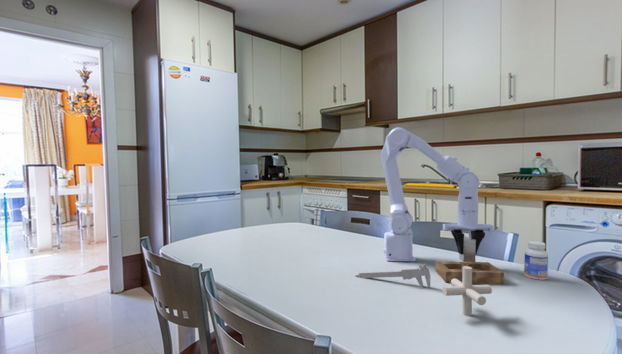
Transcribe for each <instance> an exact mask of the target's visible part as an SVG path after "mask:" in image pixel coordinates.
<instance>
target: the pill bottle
mask: <svg viewBox="0 0 622 354" xmlns="http://www.w3.org/2000/svg"><path fill="white" fill-rule="evenodd" d="M527 247H528V248H525V249H524V260H523V261H524V263H523V264H524V265H523V267H524V268H523V270H524V273H523V274H524V276H525V277H527V278H530V279H532V278H533V280H538V279H539V280H541V281H543V280H544V281H546V280H547V279H548V276H549V275H548V274H549V273H548V271H549V253H548V251H546V243H545V242H542V241H536V240H529V241H528V242H527ZM539 280H538V281H539Z"/></svg>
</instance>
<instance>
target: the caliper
mask: <svg viewBox="0 0 622 354" xmlns="http://www.w3.org/2000/svg"><path fill="white" fill-rule="evenodd" d="M418 266H419V267H412V268H411V267H410V268H409V267H408V268H401V269H400V270H382V271H379V270H378V271H361V272H360V271H359V272H358V273H357V274H355V275H354V277H356V278H357V277H359V278H362V279H375V278H376V279H377V278H400V277H402V279H403V280H412V279H413V278H414V279H416V281H417V283H418V284H419V286H420V288H424V283H423V278H422V277H423V276H424V279H425V282H426V286H427V289H429V288H430V287H431V274H430V270H429V267H426V263H424V264H423V265H422V264H421V263H420V264H419V265H418Z"/></svg>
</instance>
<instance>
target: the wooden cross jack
mask: <svg viewBox="0 0 622 354" xmlns="http://www.w3.org/2000/svg"><path fill="white" fill-rule="evenodd" d="M450 284H451V286H443V287H442V288H441V289H442V294H443V295H444V296H445V297H449V296H450V297H451V296H461V297H462V301H461V303H462V305H461V306H462V307H461V309H462V310H461V311H462V314H463V315H464V316H468V317H470V316H473V315H472V314H473V313H472V312H473V301H474V303H476V304H477V305H479V306H485V304H486V302H487V298H486V297H485V296H484V295H489V294H492V292H493V289H492V286H491V285H490V284H479V285H478V284H477V285H476V284H475V285H474V284H473V283H472V268H471V267H468V266H463V278H462V282H461V281H459V280H458V279H456V278H454V279H452V280H451V283H450Z"/></svg>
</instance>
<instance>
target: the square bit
mask: <svg viewBox="0 0 622 354" xmlns="http://www.w3.org/2000/svg"><path fill="white" fill-rule="evenodd" d="M475 252H476V240H475V239H474V238H472V237H471V236H464V240H463V254H459V253H458V254H459V256H458V258H459V260H461V262H476V255H475Z"/></svg>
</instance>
